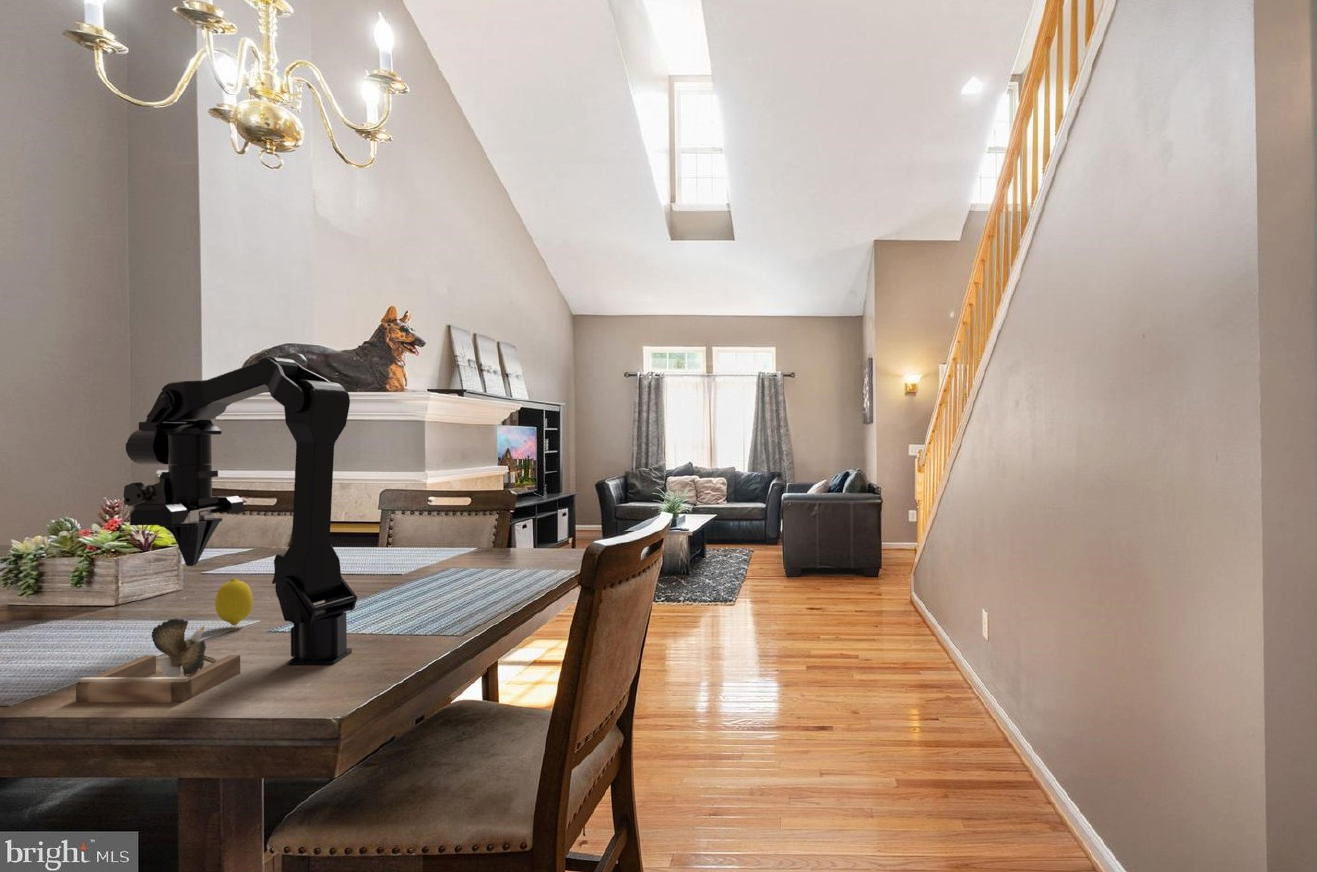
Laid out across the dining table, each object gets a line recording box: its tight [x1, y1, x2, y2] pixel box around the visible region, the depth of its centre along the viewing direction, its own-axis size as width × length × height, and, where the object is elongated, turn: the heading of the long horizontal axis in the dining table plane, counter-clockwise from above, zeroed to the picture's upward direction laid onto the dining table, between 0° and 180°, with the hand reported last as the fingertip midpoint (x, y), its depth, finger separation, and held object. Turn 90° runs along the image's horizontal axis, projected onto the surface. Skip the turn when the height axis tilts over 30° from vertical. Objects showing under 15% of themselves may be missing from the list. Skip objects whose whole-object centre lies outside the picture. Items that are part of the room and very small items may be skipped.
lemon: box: [214, 577, 254, 626], centre depth 126 cm, size 6×6×8 cm
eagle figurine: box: [151, 618, 218, 677], centre depth 96 cm, size 8×7×9 cm
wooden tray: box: [75, 654, 241, 703], centre depth 94 cm, size 13×12×3 cm
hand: (191, 565), depth 115 cm, fingers closed
